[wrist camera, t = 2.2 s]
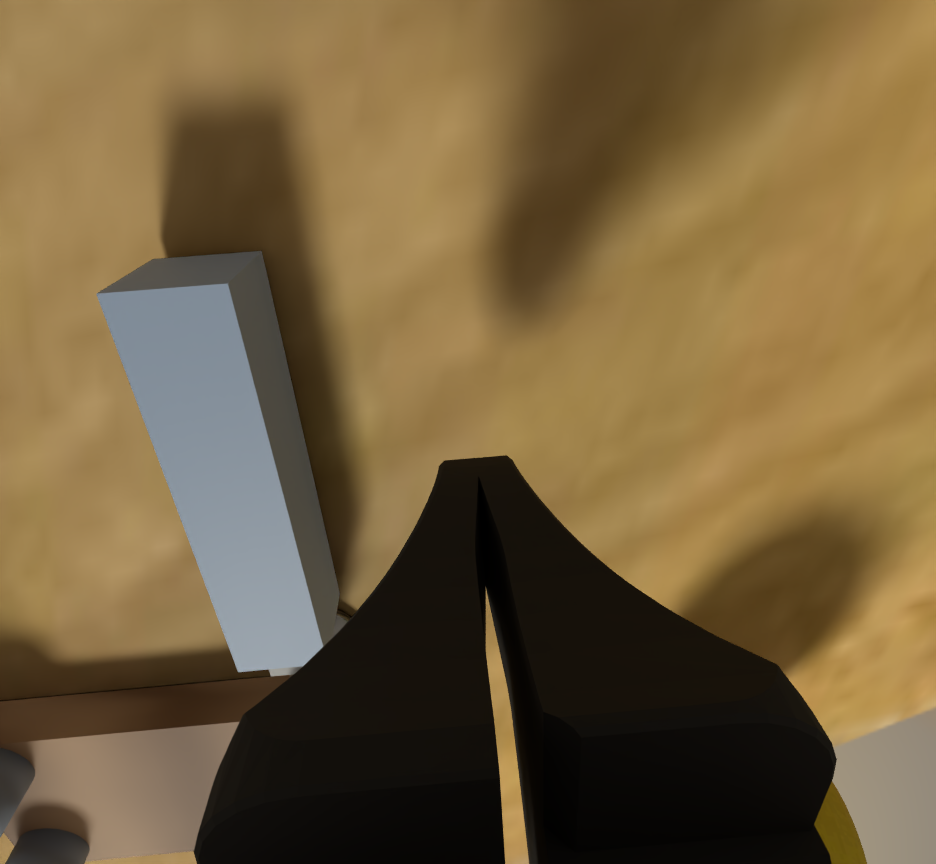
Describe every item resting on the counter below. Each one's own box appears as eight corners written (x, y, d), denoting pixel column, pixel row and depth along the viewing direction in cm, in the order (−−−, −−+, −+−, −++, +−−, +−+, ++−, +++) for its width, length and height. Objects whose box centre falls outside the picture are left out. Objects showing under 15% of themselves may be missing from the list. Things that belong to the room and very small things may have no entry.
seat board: (55, 820, 22) (3, 922, 19) (-31, 703, 19) (-108, 807, 16) (384, 789, 22) (378, 885, 20) (356, 668, 19) (344, 764, 16)
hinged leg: (346, 621, 18) (335, 693, 15) (270, 628, 17) (249, 700, 15) (261, 251, 12) (228, 284, 10) (152, 259, 12) (96, 293, 10)
